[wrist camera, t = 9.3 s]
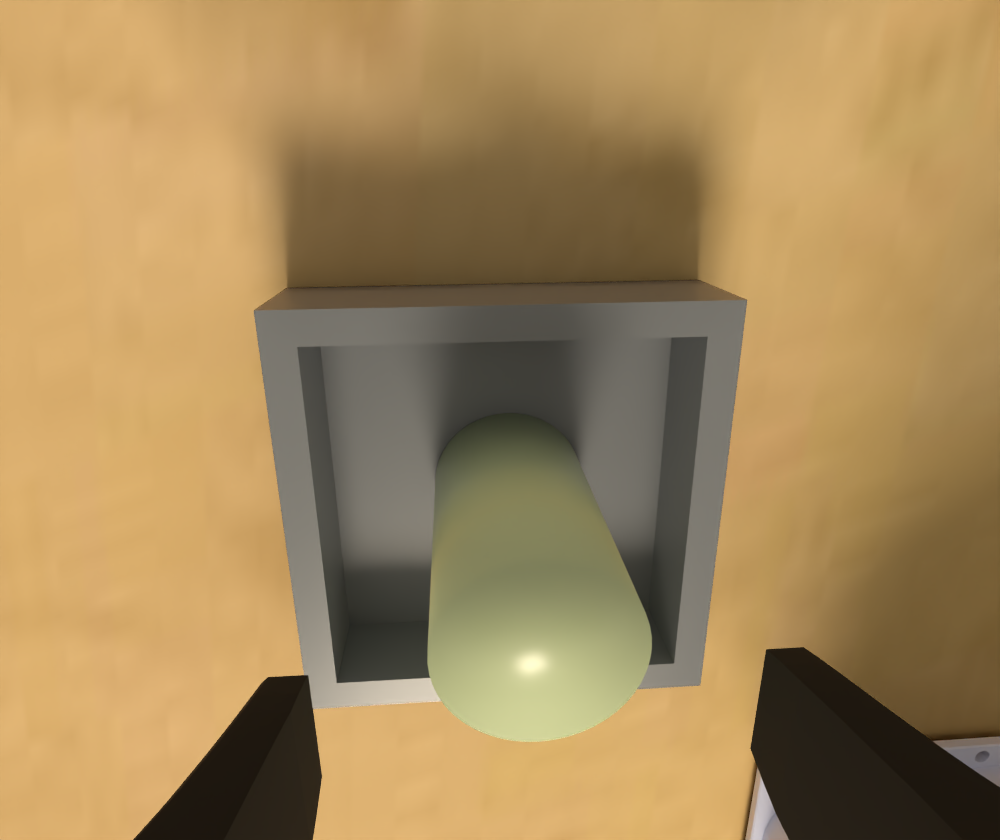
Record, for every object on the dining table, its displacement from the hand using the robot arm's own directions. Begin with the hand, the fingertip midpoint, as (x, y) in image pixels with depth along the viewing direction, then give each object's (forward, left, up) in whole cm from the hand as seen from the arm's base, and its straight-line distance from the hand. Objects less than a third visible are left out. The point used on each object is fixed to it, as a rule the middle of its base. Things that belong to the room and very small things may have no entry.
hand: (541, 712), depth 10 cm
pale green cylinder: (0, 0, -8) cm, 8 cm away
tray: (0, 0, -9) cm, 9 cm away
